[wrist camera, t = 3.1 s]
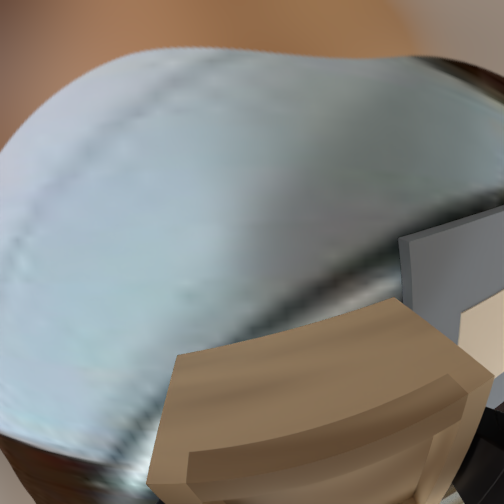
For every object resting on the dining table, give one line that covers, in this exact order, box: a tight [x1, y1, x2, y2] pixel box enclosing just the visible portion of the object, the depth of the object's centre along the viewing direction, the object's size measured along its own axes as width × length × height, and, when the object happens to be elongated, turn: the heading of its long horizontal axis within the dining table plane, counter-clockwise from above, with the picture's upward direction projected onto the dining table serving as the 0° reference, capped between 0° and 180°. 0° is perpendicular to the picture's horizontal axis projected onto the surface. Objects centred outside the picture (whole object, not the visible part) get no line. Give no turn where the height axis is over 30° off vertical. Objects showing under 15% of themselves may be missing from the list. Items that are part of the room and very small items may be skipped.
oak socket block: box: [146, 297, 495, 504], centre depth 7 cm, size 7×7×5 cm
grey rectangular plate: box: [398, 205, 504, 409], centre depth 15 cm, size 18×15×1 cm
